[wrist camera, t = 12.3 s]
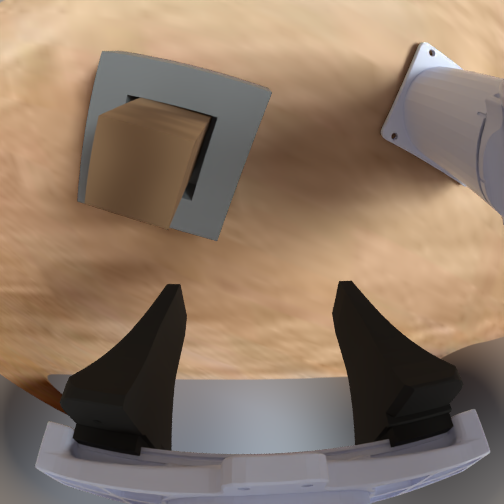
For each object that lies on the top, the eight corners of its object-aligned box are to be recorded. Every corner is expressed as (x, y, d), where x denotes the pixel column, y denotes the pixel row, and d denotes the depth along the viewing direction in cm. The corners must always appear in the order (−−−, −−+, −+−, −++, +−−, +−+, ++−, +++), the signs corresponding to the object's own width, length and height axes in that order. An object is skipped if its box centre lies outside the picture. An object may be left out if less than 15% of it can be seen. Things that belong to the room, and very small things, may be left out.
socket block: (268, 88, 18) (272, 92, 15) (220, 219, 23) (217, 241, 21) (121, 51, 16) (102, 51, 13) (94, 183, 21) (77, 201, 19)
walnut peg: (214, 110, 18) (194, 142, 12) (194, 169, 20) (168, 229, 14) (152, 92, 17) (98, 115, 11) (136, 151, 19) (84, 203, 13)
